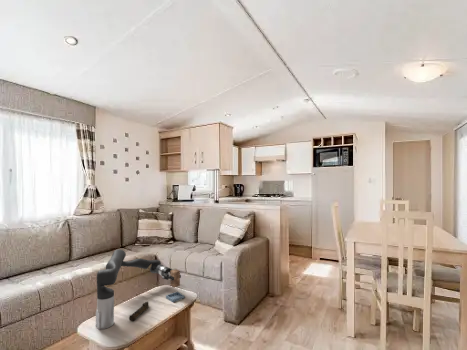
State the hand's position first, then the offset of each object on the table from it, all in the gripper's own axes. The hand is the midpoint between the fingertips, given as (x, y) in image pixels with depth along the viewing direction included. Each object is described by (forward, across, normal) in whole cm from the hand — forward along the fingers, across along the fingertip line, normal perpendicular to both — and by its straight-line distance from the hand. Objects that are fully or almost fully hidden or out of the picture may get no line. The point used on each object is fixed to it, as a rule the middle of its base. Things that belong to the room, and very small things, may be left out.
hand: (177, 277), depth 189 cm
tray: (-2, 0, +16) cm, 16 cm away
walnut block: (-3, 0, +6) cm, 7 cm away
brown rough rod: (0, -28, +16) cm, 33 cm away
